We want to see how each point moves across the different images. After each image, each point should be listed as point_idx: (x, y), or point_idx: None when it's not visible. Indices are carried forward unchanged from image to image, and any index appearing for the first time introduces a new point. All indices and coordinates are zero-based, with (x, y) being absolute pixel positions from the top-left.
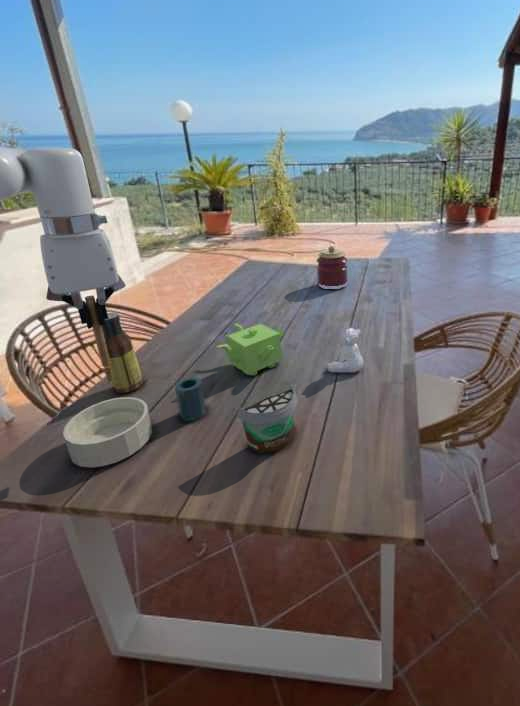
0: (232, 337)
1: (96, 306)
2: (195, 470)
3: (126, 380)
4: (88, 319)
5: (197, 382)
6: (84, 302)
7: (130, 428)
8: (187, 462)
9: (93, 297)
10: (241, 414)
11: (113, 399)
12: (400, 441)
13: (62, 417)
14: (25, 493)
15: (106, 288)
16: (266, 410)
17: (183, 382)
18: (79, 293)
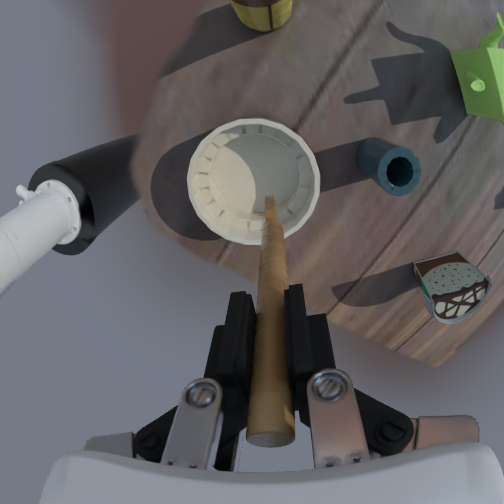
0: (494, 64)
1: (296, 410)
2: (352, 273)
3: (266, 25)
4: None
5: (414, 177)
6: (241, 416)
7: (292, 231)
8: (347, 257)
9: (291, 438)
10: (429, 306)
11: (256, 122)
12: (493, 308)
13: (163, 70)
14: (168, 226)
15: (373, 459)
16: (450, 310)
17: (393, 158)
18: (213, 450)
